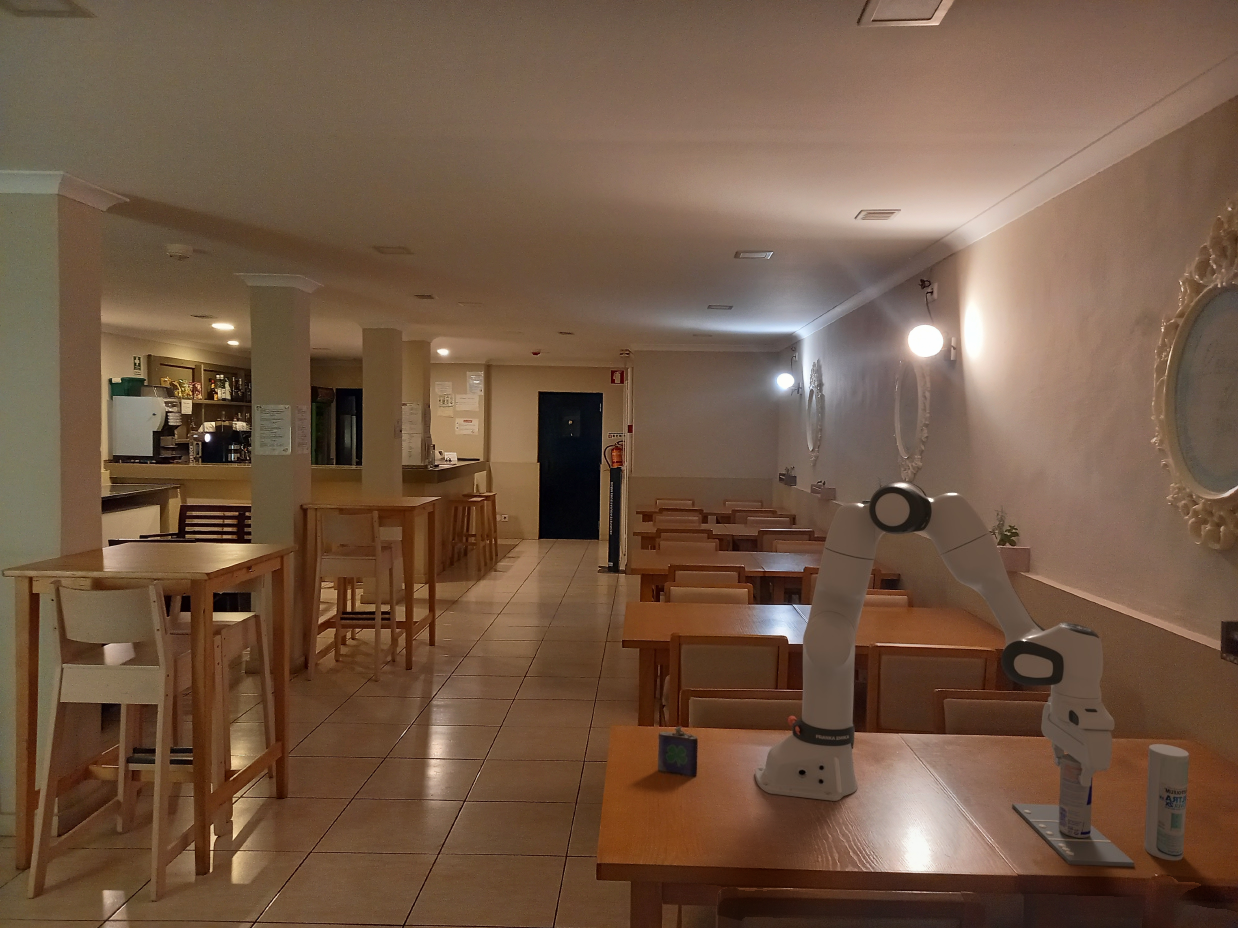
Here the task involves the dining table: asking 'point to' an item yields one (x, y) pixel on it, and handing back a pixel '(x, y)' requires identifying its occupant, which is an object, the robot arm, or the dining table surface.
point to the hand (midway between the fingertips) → (1071, 774)
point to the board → (1071, 838)
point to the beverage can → (1074, 800)
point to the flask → (678, 753)
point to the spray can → (1166, 801)
